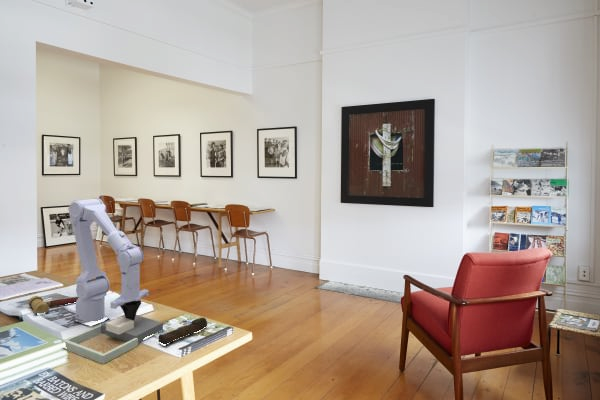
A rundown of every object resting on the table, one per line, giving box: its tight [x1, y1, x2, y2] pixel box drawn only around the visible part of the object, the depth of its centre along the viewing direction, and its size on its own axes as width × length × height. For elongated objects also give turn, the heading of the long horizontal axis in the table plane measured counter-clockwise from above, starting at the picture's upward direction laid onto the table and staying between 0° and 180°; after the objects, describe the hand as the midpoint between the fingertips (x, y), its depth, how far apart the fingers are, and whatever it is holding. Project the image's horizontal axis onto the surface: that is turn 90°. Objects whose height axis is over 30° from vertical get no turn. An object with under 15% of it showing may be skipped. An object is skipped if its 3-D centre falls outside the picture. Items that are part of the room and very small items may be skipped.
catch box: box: [63, 325, 139, 365], centre depth 129 cm, size 18×13×2 cm
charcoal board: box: [100, 314, 164, 345], centre depth 140 cm, size 16×12×3 cm
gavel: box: [27, 295, 79, 314], centre depth 159 cm, size 21×5×10 cm
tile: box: [105, 316, 134, 335], centre depth 135 cm, size 6×6×2 cm
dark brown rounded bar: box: [158, 317, 208, 344], centre depth 139 cm, size 19×4×5 cm, turn 141°
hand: (130, 321), depth 139 cm, fingers closed
